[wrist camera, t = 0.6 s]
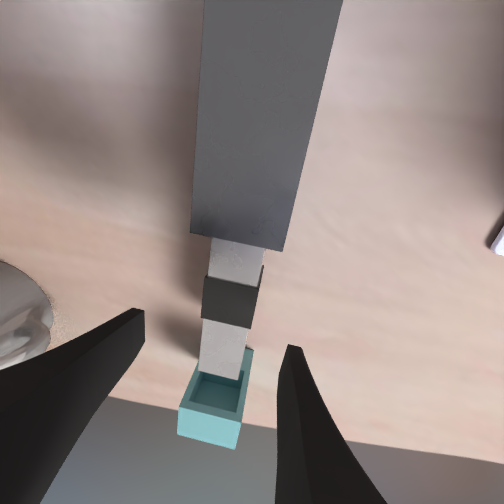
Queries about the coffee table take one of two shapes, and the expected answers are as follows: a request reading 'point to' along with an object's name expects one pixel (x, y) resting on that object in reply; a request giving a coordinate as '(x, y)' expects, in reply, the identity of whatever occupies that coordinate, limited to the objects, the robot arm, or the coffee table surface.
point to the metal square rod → (228, 305)
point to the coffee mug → (22, 317)
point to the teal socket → (215, 405)
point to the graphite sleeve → (257, 113)
